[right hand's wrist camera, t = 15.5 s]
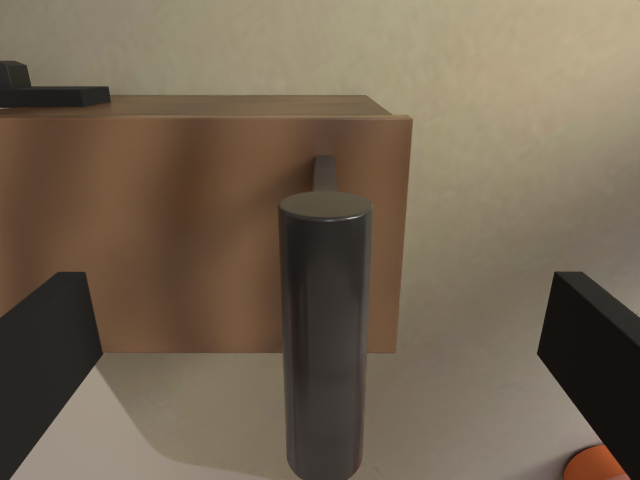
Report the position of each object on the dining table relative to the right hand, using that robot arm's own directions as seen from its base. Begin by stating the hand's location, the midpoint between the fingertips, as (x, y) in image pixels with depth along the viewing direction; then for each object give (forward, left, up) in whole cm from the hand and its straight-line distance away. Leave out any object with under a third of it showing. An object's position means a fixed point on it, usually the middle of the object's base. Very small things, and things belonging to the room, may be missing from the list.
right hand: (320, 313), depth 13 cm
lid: (+1, -5, -6) cm, 8 cm away
